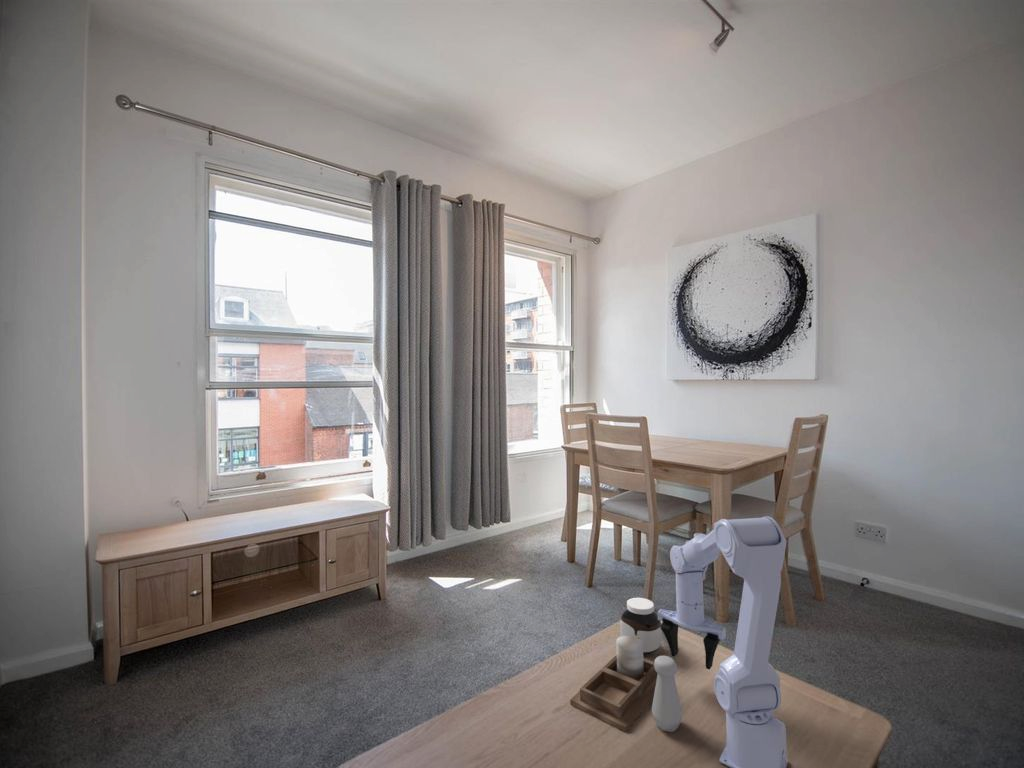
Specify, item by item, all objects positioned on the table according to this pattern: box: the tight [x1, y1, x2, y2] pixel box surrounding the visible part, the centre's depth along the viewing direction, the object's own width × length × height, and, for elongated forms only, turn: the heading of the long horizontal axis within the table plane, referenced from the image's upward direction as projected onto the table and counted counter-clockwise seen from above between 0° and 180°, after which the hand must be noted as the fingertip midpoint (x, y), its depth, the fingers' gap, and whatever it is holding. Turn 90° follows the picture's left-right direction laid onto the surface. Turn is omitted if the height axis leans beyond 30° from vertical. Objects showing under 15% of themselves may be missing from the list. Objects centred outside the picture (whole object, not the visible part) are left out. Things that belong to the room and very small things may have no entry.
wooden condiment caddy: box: [569, 635, 658, 733], centre depth 104 cm, size 13×21×9 cm, turn 139°
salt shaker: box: [651, 655, 683, 733], centre depth 94 cm, size 6×6×13 cm
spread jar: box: [619, 597, 670, 657], centre depth 122 cm, size 12×11×12 cm
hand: (691, 660), depth 104 cm, fingers open, 7 cm apart
